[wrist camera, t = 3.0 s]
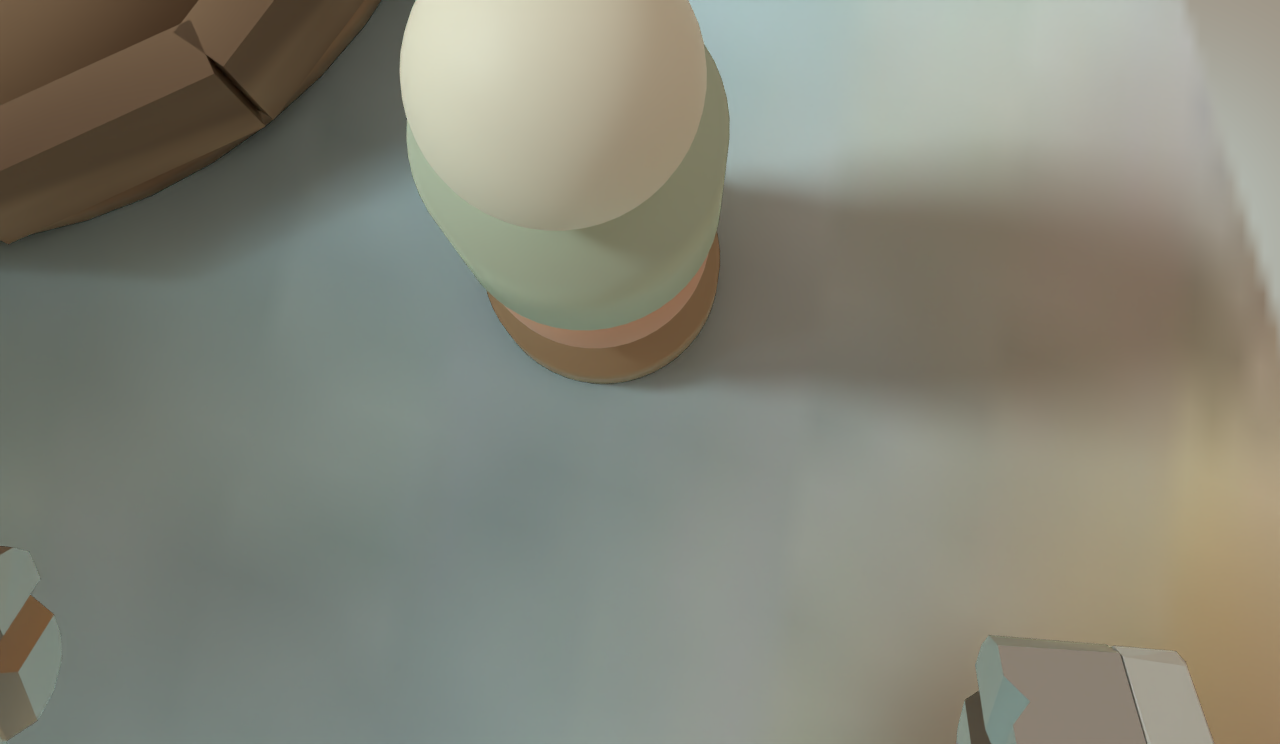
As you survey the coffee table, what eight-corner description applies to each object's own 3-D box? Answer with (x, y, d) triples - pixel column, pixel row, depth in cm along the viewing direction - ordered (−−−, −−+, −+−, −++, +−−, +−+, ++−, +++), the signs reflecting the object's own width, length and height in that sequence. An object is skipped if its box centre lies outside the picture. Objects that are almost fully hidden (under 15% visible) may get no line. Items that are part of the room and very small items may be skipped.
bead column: (480, 374, 21) (297, 203, 11) (502, 154, 22) (349, -201, 12) (709, 392, 21) (738, 236, 11) (725, 170, 22) (768, -177, 11)
